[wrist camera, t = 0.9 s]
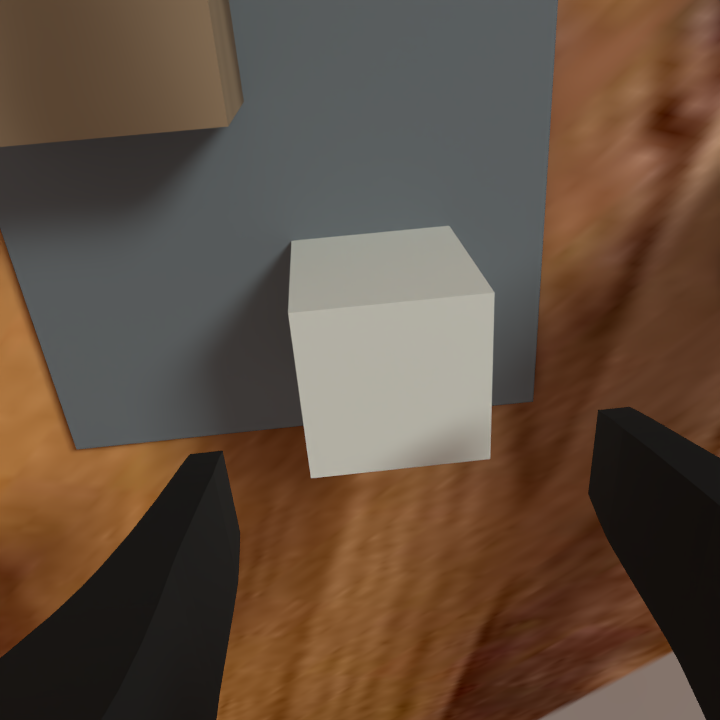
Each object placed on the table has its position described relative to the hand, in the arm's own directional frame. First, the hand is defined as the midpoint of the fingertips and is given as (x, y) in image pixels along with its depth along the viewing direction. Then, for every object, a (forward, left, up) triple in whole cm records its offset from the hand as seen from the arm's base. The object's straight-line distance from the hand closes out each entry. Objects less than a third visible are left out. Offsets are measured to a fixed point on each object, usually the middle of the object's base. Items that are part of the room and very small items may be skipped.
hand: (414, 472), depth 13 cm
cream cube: (0, 0, -8) cm, 8 cm away
